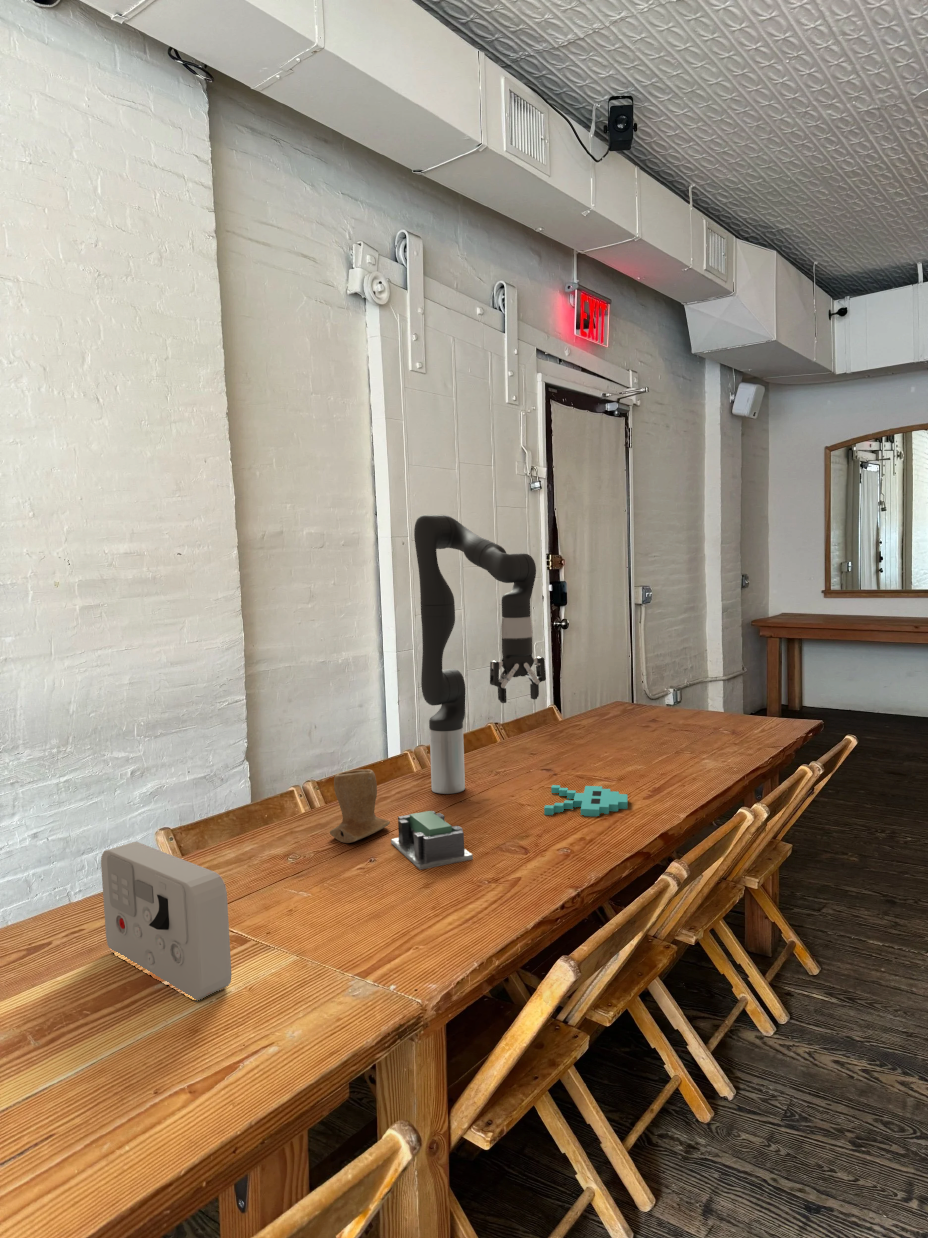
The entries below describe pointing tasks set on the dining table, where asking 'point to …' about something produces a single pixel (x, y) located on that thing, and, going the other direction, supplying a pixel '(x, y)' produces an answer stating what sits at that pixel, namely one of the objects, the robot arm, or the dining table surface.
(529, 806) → the dining table surface
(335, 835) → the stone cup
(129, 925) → the grey button box
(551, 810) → the alien figure
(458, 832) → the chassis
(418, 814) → the green block
